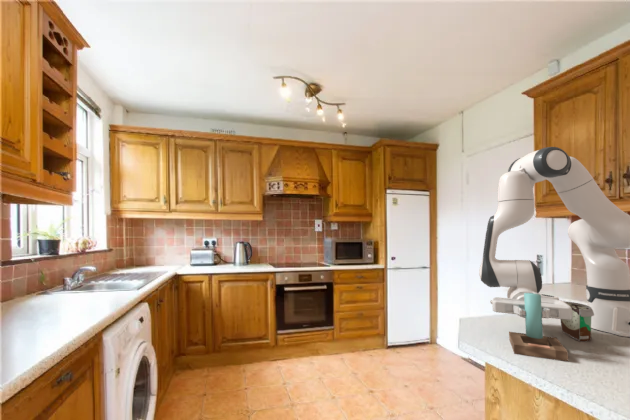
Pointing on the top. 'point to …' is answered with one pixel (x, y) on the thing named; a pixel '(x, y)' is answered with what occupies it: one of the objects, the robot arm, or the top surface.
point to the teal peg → (533, 315)
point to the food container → (578, 322)
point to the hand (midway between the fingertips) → (533, 314)
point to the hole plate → (538, 346)
